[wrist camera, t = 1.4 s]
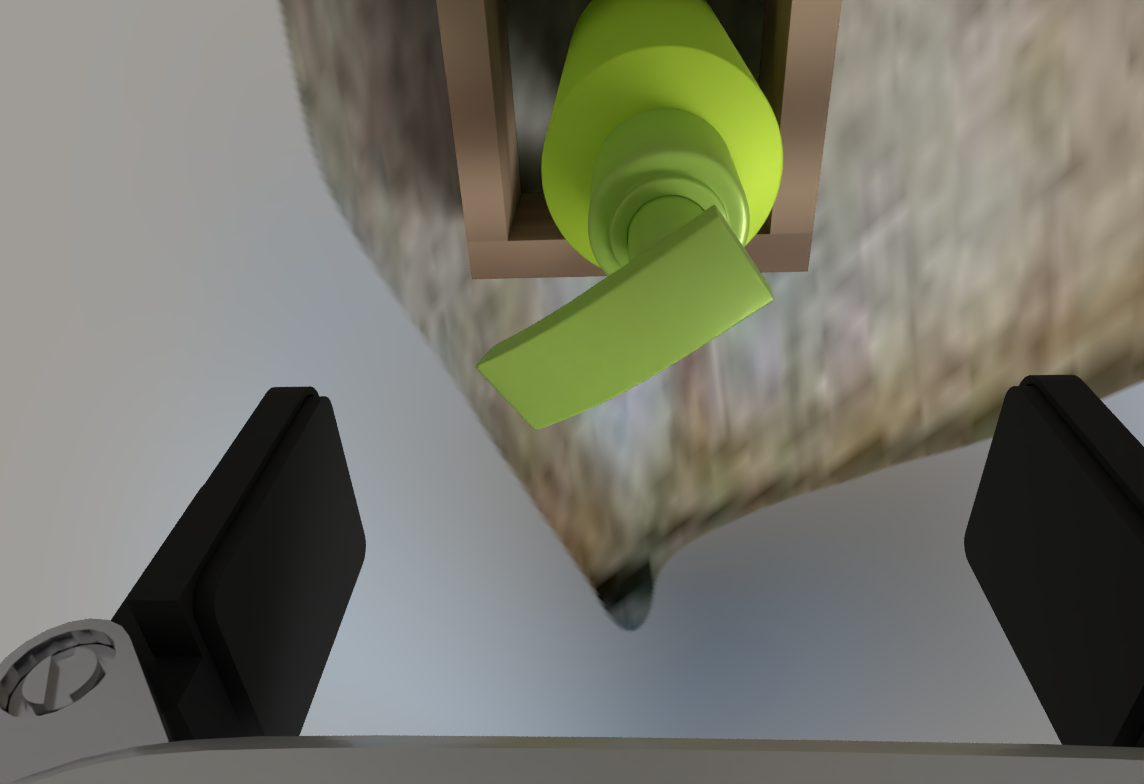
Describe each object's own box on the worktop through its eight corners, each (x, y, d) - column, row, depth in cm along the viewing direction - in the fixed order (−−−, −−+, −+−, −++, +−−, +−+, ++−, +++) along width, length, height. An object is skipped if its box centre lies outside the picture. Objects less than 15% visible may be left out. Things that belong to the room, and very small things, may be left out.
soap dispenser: (516, 60, 31) (394, 302, 14) (668, -64, 28) (741, 52, 11) (605, 181, 33) (592, 509, 16) (752, 78, 31) (913, 342, 14)
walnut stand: (451, -116, 27) (421, -111, 23) (821, -136, 27) (858, -135, 22) (489, 228, 34) (472, 279, 30) (784, 220, 34) (807, 271, 29)
